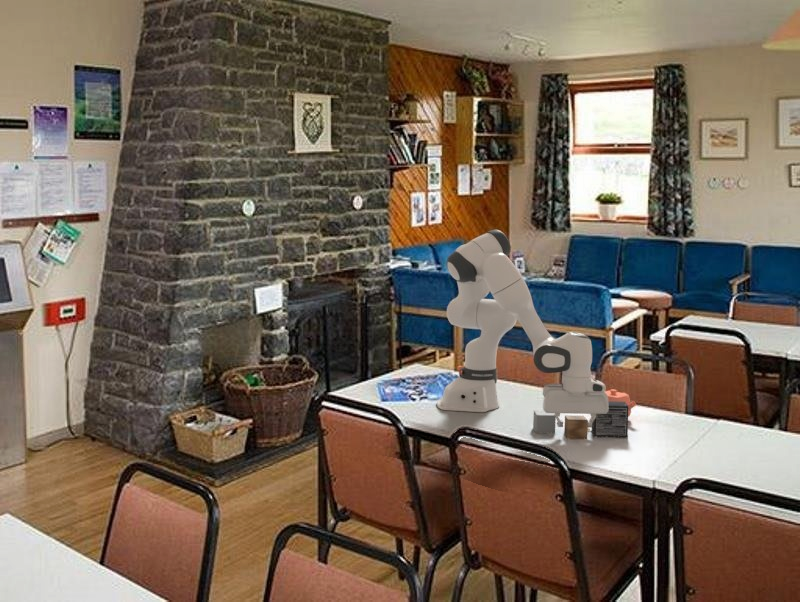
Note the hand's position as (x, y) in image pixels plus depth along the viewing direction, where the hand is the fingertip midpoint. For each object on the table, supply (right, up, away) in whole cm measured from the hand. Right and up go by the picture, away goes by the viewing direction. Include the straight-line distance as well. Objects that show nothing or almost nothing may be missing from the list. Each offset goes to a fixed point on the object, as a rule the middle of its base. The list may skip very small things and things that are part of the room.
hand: (574, 426), depth 254 cm
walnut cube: (+1, -3, +1) cm, 4 cm away
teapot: (+18, -1, +22) cm, 28 cm away
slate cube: (-8, -2, +7) cm, 11 cm away
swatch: (+4, -2, +10) cm, 11 cm away
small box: (+12, -3, +3) cm, 13 cm away
